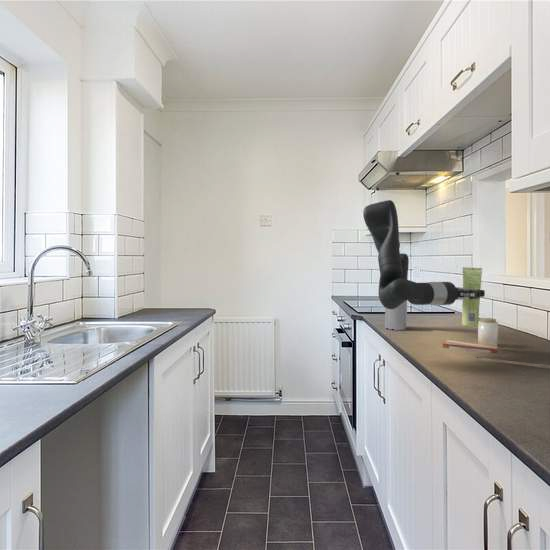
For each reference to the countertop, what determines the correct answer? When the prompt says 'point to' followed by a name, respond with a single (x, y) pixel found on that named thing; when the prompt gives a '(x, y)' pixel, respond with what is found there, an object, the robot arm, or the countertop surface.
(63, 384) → the countertop surface
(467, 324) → the tube
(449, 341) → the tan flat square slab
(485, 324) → the jar
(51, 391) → the countertop surface
